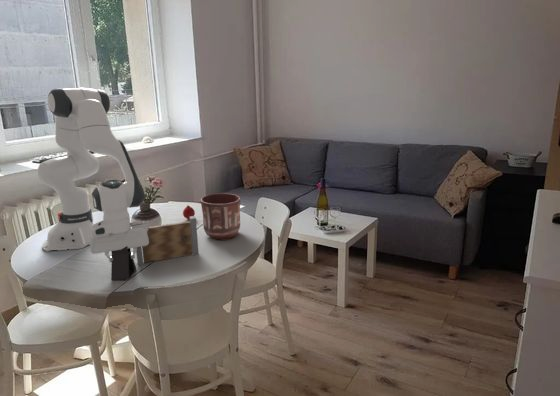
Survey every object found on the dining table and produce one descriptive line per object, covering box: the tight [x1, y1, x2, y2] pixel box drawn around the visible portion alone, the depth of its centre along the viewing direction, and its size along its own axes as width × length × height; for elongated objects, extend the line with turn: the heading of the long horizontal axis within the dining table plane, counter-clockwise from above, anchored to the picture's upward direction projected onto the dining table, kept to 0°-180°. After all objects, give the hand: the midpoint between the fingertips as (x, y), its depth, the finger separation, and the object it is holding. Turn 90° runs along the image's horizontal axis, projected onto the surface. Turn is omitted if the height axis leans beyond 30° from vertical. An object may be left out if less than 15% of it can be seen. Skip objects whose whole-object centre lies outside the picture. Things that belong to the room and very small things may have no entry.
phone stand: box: [110, 246, 137, 281], centre depth 157 cm, size 9×6×12 cm, turn 177°
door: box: [141, 220, 193, 264], centre depth 169 cm, size 19×3×14 cm, turn 112°
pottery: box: [200, 192, 241, 241], centre depth 192 cm, size 18×18×18 cm
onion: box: [182, 204, 196, 221], centre depth 215 cm, size 6×6×8 cm
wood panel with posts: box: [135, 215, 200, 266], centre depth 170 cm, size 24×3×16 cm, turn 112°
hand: (122, 259), depth 157 cm, fingers closed on phone stand, 6 cm apart
